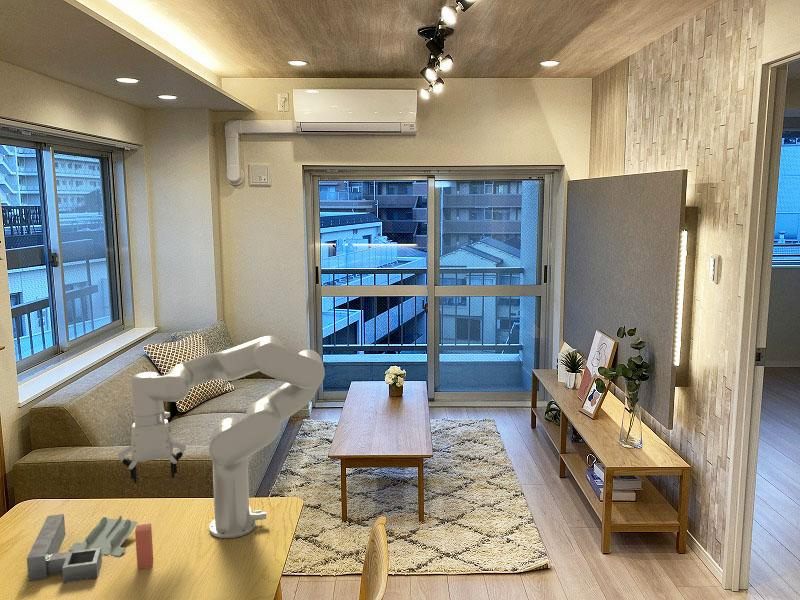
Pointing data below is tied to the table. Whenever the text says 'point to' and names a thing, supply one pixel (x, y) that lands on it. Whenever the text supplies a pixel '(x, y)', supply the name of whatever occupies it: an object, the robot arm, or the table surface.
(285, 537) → the table surface
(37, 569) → the grey socket fixture
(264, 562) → the table surface
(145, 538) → the red rectangular block
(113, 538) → the metal bracket
